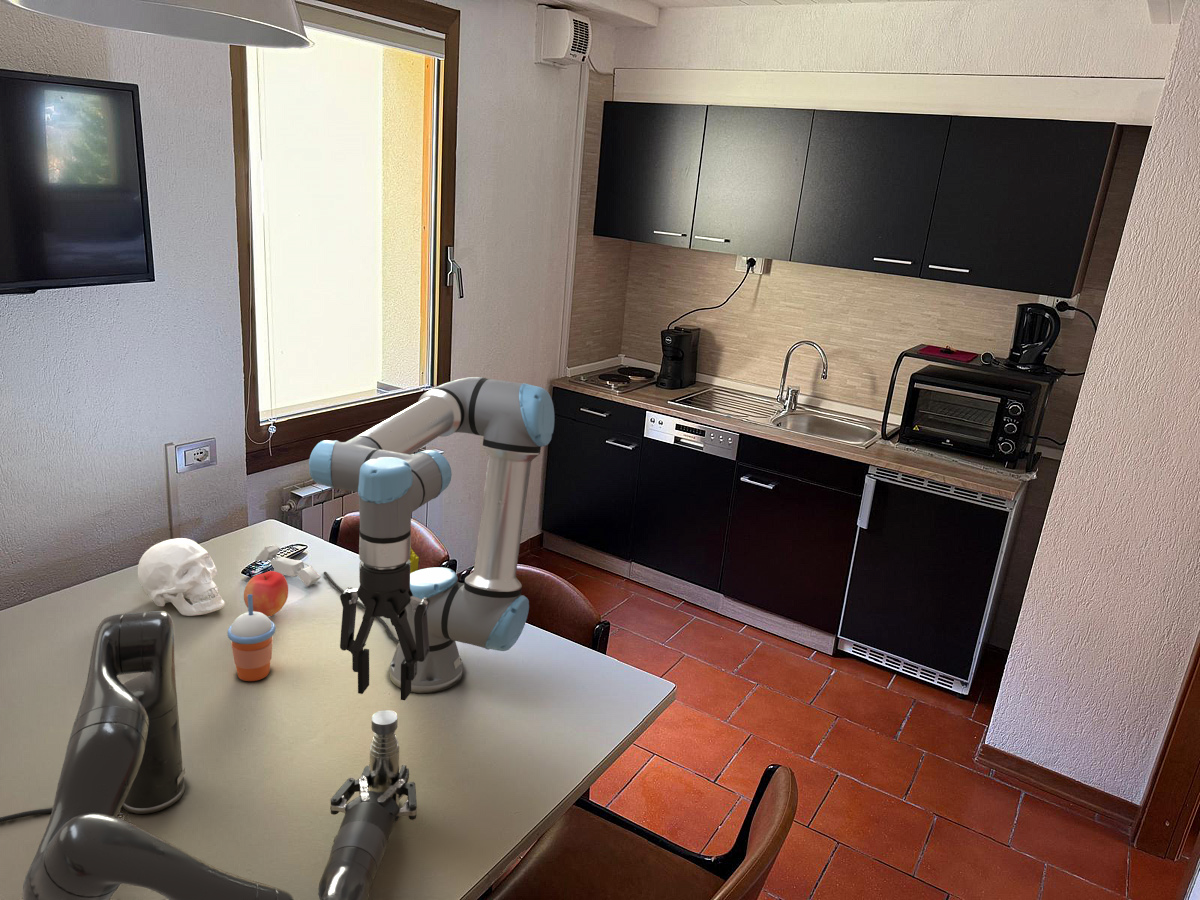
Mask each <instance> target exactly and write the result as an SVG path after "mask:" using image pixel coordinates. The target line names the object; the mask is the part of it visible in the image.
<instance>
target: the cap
mask: <svg viewBox="0 0 1200 900" xmlns="http://www.w3.org/2000/svg"><path fill="white" fill-rule="evenodd" d="M398 717H399V716H398V714H397V712H395V711H394V710H391V709H382V710H378V711H376V712H374V713H373V714H372V716H371V732H373V734H374V733H376V734H379V735H387V734H391V733H393V732H394V731H395V732H396V731H397V730H398V725H399V724H398V723H399V722H398V719H399V718H398Z"/></svg>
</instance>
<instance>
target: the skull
mask: <svg viewBox="0 0 1200 900" xmlns="http://www.w3.org/2000/svg"><path fill="white" fill-rule="evenodd" d="M217 576H218V570H217V566H216V564H215V562H214V559H213V558H212V557H211V555H210V553H209V551H207V550H206V549H205V548H204V547H202V546H201V545H200V544H199V543H197V541H195V540H193V539H189V538H186V537H185V538H183V537H177V538H176V537H175V538H169V539H166V540H163V541H161V542H158V543H156V544H154V545H152V546H150V547H149V548H148V549H147V550H146V551H145V552H144V553H143V554H142V556H141V557H140V559H139V561H138V565H137V579H138V582H139V584H140V586H141V588H142V589H143V591H144V592H145V593H146V594H147V595H148V597H149V598H150V599H151V601H152V602H153V603H154V604H155V605H156V606H157V607H165V604H167V603H171V604H172V605H173V606H174V607H175V608H176V610H177V611H178V613H179V614H181V615H182V616H188V617H193V616H201V615H207V614H210V613H213V612H215V611H218V610H221V609H223V608H224V607H225V605H226V602H225V600H224V599H223V598H222V596H221V594H220V589H219V587H218V586H217V584H216V582H214V581H213V579H214V578H215V577H217ZM208 596H209V597H208ZM185 598H186V599H188V600H189V601H190V602H191V603H192V604H190V603H189V601H187V600H186V599H185ZM182 612H183V613H182Z"/></svg>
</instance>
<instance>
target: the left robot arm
mask: <svg viewBox="0 0 1200 900" xmlns="http://www.w3.org/2000/svg"><path fill="white" fill-rule="evenodd" d="M175 663H176V662H175V629H174V622H173V620H172V617H171V615H170V614H169V613H168V612H167V611H165V610H156V611H155V610H154V611H142V612H141V611H140V612H132V613H120V614H114V615H110V616H107V617H105V618H104V619H102V620H101V621H100V623H99V624H98V627H97V628H96V631H95V635H94V639H93V644H92V649H91V655H90V661H89V666H88V673H87V678H86V683H85V687H84V690H83V694H82V698H81V701H80V704H79V707H78V711H77V714H76V716H75V719H74V722H73V725H72V728H71V732H70V735H69V739H68V741H67V745H66V749H65V754H64V759H63V763H62V767H61V770H60V775H59V779H58V782H57V786H56V791H55V794H54V800H53V805H52V807H51V808H50V807H49V808H39V809H33V810H27V811H22V812H17V813H13V814H9V815H3V816H0V823H5V822H9V821H13V820H16V819H20V818H25V817H26V818H27V817H31V816H37V815H38V816H39V815H48V814H50V817H49V820H48V823H47V825H46V828H45V832H44V833H43V835H42V838H41V841H40V843H39V845H38V848H37V850H36V853H35V855H34V856H33V859H32V862H31V864H30V866H29V868H28V871H27V872H26V875H25V878H24V881H23V884H22V900H110V899H111V898H112V896H113V895H114V894H115V892H116V891H117V890H118V888H119V887H120V886H121V885H129V886H135V887H139V888H140V887H141V888H144V889H147V890H150V891H154V892H155V893H158V894H160V895H161V896H163V897H165V898H166V900H167V899H168V900H295V899H294V897H293V896H292V894H291V893H290V892H289V891H287V890H283V889H281V888H278V887H275V886H271V885H268V884H265V883H261V882H259V881H255V880H252V879H248V878H245V877H242V876H240V875H236V874H233V873H230V872H228V871H225V870H222V869H220V868H218V867H216V866H214V865H211V864H209V863H207V862H205V861H203V860H202V859H200V858H198V857H196V856H194V855H193V854H190V853H188V852H187V851H185V850H183V849H182V848H179V847H177V846H176V845H174V844H171V843H169V842H168V841H166V840H163V839H161V838H160V837H157V836H156V835H154V834H153V833H151V832H148V831H147V830H144V829H142V828H141V827H139V826H137V825H135V824H133V823H130V822H128V821H126V820H124V819H121V818H119V817H118V816H119V813H120V811H121V809H122V808H123V809H124V810H125V811H127V812H129V813H132V814H135V815H136V814H137V815H138V814H139V815H144V814H145V815H147V814H153V813H157V812H160V811H163V810H165V809H167V808H169V807H172V806H173V805H174V804H175V803H177V802H178V801H179V800H180V799H181V797H183V796H184V793H185V790H186V784H185V783H186V782H185V777H184V776H185V775H186V772H187V771H186V767H184V768H183V756H182V741H181V730H180V716H179V705H178V704H179V703H178V695H177V680H176V669H175V668H176V665H175ZM138 673H139V674H140V673H143V674H141V675H139V676H136V677H134V678H131V679H130V680H127V681H125V682H124V683H122V681H121V680H120V678H119V677H118V676H120V675H130V674H138ZM409 779H410V768H408V767H407V764H401V767H400V768H399V775H398V778H397V782H396V783H395V784H394V785H393V786H392V785H391V786H390V787H389V788H388V789H387V790H386V792H375V791H370V790H369V789H370V763H369V764H368V765H366V766H364V768H363V770H362V773H361V775H360V777H358V778H357V779H355V778H354V777H350V778H349V777H348V778H347V779H346V781H345V782H344V783H342V785H341V786H340V788H338V790H336V792H335V793H334V794H333V796H332V797H331V798H330V814H331V815H334V816H335V815H338V814H339V813H343V814H344V817H343V819H342V822H341V824H340V826H339V829H338V830H337V833H336V835H335V836H334V839H333V843H332V846H331V849H330V852H329V853H330V854H329V857H328V859H327V861H326V864H325V867H324V870H323V872H322V875H321V877H320V880H319V884H318V897H319V900H370V891H371V888H372V885H373V882H374V879H375V876H376V873H377V871H378V870H379V868H380V866H381V863H382V861H383V858H384V856H385V855H384V854H385V853H386V849H387V846H388V843H389V841H390V837H391V834H392V831H393V828H394V826H395V825H394V824H395V823H396V822H397V821H398V820H400V818H402V817H408V819H409V820H411V821H414V820H416V819H417V817H418V816H417V814H418V813H417V812H418V811H417V810H418V809H417V808H418V803H417V789H416V782H414V781H410V782H409ZM355 793H358V795H359V796H357V797H355V798H354V799H352V800H351V801H350V799H351V798H352V797H353V796H354V795H355ZM404 796H406V797H407V799H406V800H405V802H404V803H403V805H402V807H400V805H399V806H398V802H399V803H400V800H401V799H402V798H403V797H404Z"/></svg>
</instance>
